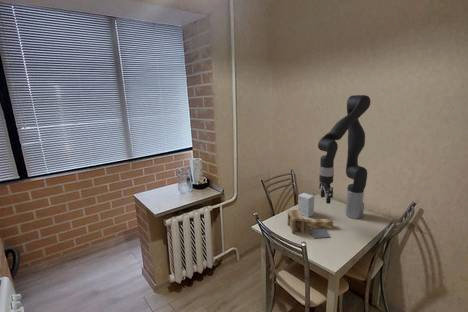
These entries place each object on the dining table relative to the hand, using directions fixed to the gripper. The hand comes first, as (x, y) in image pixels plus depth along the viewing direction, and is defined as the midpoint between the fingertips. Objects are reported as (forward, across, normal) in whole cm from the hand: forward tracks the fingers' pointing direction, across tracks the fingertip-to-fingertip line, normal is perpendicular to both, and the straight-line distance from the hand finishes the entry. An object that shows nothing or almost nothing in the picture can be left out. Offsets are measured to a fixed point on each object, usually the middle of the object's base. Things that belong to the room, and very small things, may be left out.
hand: (325, 200), depth 145 cm
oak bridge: (+16, -1, +18) cm, 24 cm away
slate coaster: (+16, -8, +6) cm, 19 cm away
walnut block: (+17, -1, +18) cm, 24 cm away
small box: (+17, +16, +6) cm, 24 cm away
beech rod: (+17, -1, +4) cm, 17 cm away
